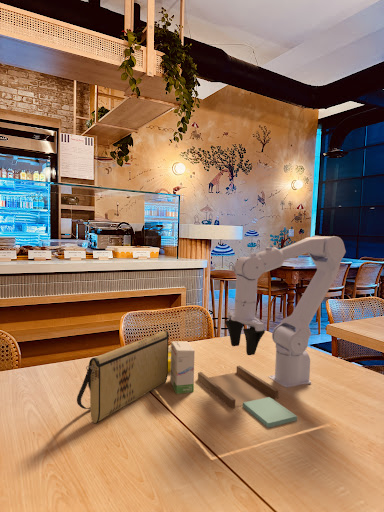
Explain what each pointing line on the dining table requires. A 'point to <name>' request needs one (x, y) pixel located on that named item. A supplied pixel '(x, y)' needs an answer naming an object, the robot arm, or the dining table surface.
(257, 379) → the walnut tray
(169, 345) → the element tile
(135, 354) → the clutch purse
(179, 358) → the ink box
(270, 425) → the teal plate
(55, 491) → the dining table surface
